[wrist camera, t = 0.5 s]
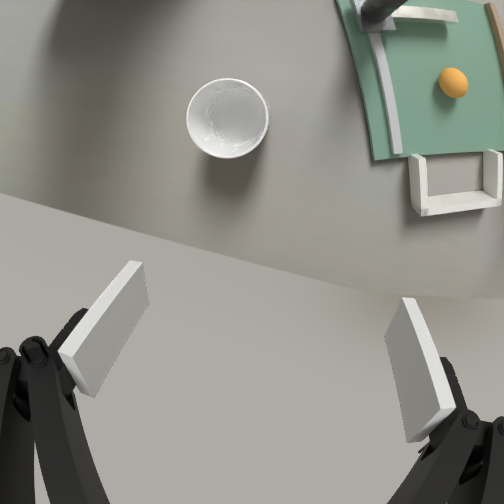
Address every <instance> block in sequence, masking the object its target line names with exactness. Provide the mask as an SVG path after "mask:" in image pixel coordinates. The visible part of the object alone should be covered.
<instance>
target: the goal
mask: <svg viewBox="0 0 504 504" xmlns="http://www.w3.org/2000/svg"><path fill="white" fill-rule="evenodd" d="M408 166H409V178H410V195H411V206H412V207H413V208H414V210H415V211H416V212H417V213H418V214H419V215H420V216H421V217H423V216H430V215H437V214H444V213H451V212H458V211H465V210H472V209H480V208H487V207H494V206H501V201H502V180H503V154H502V153H500V152H497V151H495V150H492V149H487V151H483V190H481V191H472V192H464V193H455V194H447V195H438V196H430V197H428V193H427V171H426V158H424V157H422V156H420V155H418V154H411V156H410V157H408Z"/></svg>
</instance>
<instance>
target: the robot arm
mask: <svg viewBox="0 0 504 504" xmlns="http://www.w3.org/2000/svg"><path fill="white" fill-rule="evenodd" d="M148 305H149V300H148V294H147V288H146V282H145V275H144V267H143V263H142V262H137V261H131V260H130V261H129V262H128V263H127V265H126V266H125V267H124V268H123V269H122V270H121V271H120V273H119V274H118V275H117V276H116V277H115V279H114V280H113V281H112V282H111V283H110V284H109V286H108V287H107V288H106V289H105V290H104V292H103V293H102V294H101V295H100V297H99V298H98V299H97V300H96V302H95V303H94V304H93V305H92V307H91V308H90V309H85V308H82V309H81V310H79V311H78V312H76V313H75V314H74V315H73V316H72V317H71V319H70V320H69V322H68V323H67V324H66V325H65V326H64V329H62V330H61V331H60V333H59V334H58V335H57V336H56V338H55V339H54V340H53V342H52V343H51V344H50V346H49V347H48V346H47V344H46V342H45V340H44V339H43V338H42V337H39V336H32V337H30V338H27V339H26V340H25V341H23V342H22V344H21V345H20V348H19V352H20V354H21V356H17V355H16V353H15V352H14V350H13V349H12V348H9V347H4V348H1V349H0V504H35V489H34V443H35V444H36V449H37V454H38V459H39V463H40V468H41V472H42V476H43V480H44V483H45V487H46V490H47V494H48V497H49V500H50V504H110V503H109V500H108V498H107V496H106V493H105V491H104V488H103V486H102V483H101V481H100V478H99V476H98V473H97V470H96V467H95V465H94V462H93V459H92V456H91V453H90V450H89V447H88V443H87V440H86V437H85V433H84V430H83V426H82V422H81V419H80V415H79V411H78V407H77V403H76V398H75V394H74V392H73V389H74V388H75V386H77V387H78V389H79V391H80V392H81V393H83V394H85V395H88V396H90V397H93V398H95V396H96V394H97V393H98V391H99V389H100V387H101V385H102V384H103V382H104V380H105V378H106V376H107V374H108V373H109V371H110V369H111V367H112V366H113V364H114V362H115V360H116V359H117V357H118V355H119V354H120V352H121V350H122V349H123V347H124V345H125V343H126V342H127V340H128V338H129V337H130V335H131V333H132V332H133V330H134V328H135V327H136V325H137V323H138V322H139V320H140V318H141V317H142V315H143V314H144V312H145V310H146V309H147V307H148ZM384 337H385V341H386V345H387V349H388V353H389V357H390V361H391V365H392V370H393V374H394V378H395V383H396V387H397V392H398V397H399V401H400V407H401V412H402V417H403V423H404V429H405V435H406V441H407V443H411V442H420V441H422V440H424V439H425V438H426V437H427V436H428V435H429V439H430V441H429V442H428V443H427V444H426V445H425V446H424V447H423V448H422V449H420V450H419V451H418V453H421V452H422V453H421V455H420V456H419V458H418V460H417V462H416V463H415V464H414V466H413V468H412V469H411V471H410V472H409V474H408V475H407V477H406V478H405V480H404V481H403V483H402V484H401V485H400V487H399V488H398V490H397V491H396V492H395V494H394V495H393V496H392V498H391V499H390V500H389V502H388V503H387V504H446V503H447V504H504V417H502V416H500V417H498V418H497V419H496V420H495V421H494V422H492V423H491V422H486V421H481V420H480V419H479V417H478V416H477V414H476V413H474V412H473V411H471V410H468V409H467V406H466V403H465V400H464V397H463V394H462V391H461V388H460V385H459V383H458V380H457V377H456V376H455V372H454V369H453V366H452V364H451V363H450V362H449V361H448V359H447V358H446V357H439V355H438V353H437V350H436V348H435V345H434V343H433V340H432V338H431V335H430V333H429V330H428V328H427V326H426V323H425V321H424V319H423V316H422V314H421V312H420V310H419V307H418V305H417V303H416V301H415V299H414V298H404V297H402V298H401V301H400V303H399V306H398V308H397V310H396V312H395V314H394V317H393V319H392V321H391V323H390V325H389V328H388V330H387V332H386V334H385V336H384Z"/></svg>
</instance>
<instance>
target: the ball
mask: <svg viewBox="0 0 504 504" xmlns="http://www.w3.org/2000/svg"><path fill="white" fill-rule="evenodd" d="M439 85H440V87H441V89H442V91H443V92H444V93H445V94H446V95H448V96H450V97H452V98H461V97H463V96H464V95H465V94H466V93H467V91H468V81H467V78H466V77H465V75H464V74H463V73H462V72H461V71H460V70H458V69H456V68H452V67H450V68H445V69H444V70H442V71H441V73H440V75H439Z"/></svg>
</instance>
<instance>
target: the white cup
mask: <svg viewBox="0 0 504 504" xmlns="http://www.w3.org/2000/svg"><path fill="white" fill-rule="evenodd" d="M270 117H271V112H270V107H269V104H268V102H267V100H266V99H265V97H264V96H263V95H262V94H261V93H260V92H259V91H258V90H256V89H255V88H254V87H252V86H251V85H249V84H248V83H246V82H244V81H241V80H237V79H230V78H225V79H218V80H215V81H212V82H210V83H208V84H206V85H204V86H203V87H202V88H200V89H199V90H198V91H197V92H196V93H195V95H194V96H193V97H192V99H191V101H190V103H189V106H188V109H187V115H186V123H187V128H188V132H189V134H190V136H191V138H192V140H193V141H194V143H195V144H196V145H197V146H198V147H199V148H200V149H201V150H203V151H204V152H206V153H207V154H209V155H212V156H214V157H218V158H236V157H240V156H243V155H245V154H247V153H249V152H250V151H252V150H253V149H254V148H256V147H257V146H258V145H259V143H260V142H261V141H262V139H263V138H264V136H265V133H266V131H267V129H268V127H269V123H270Z"/></svg>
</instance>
